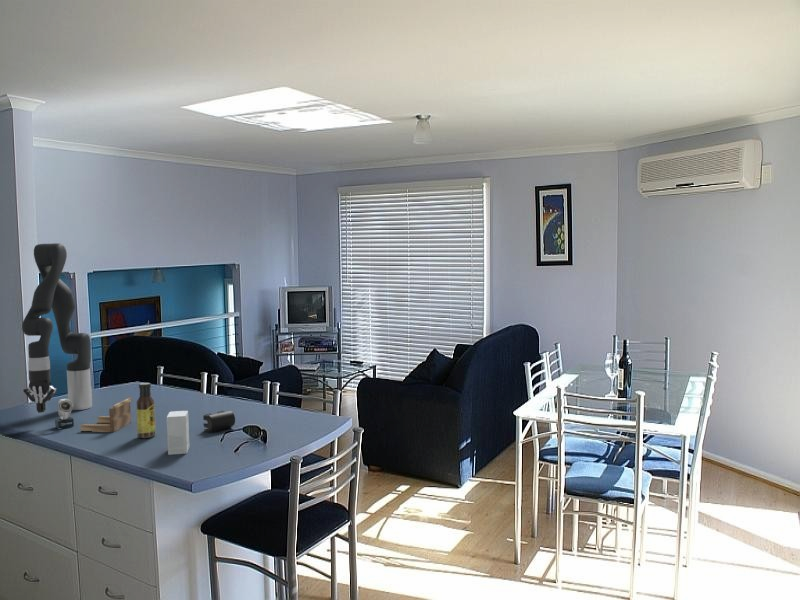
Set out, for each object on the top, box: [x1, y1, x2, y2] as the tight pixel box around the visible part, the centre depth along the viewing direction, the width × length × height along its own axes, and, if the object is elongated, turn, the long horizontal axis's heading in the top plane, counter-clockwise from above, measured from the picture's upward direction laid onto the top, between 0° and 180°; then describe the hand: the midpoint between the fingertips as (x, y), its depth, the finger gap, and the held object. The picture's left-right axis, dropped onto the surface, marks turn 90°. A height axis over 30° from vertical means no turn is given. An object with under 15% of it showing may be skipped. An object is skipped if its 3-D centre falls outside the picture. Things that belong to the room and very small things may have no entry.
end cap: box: [202, 410, 236, 433], centre depth 256 cm, size 10×7×7 cm
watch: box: [54, 398, 75, 429], centre depth 263 cm, size 6×8×11 cm
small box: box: [166, 410, 190, 456], centre depth 230 cm, size 8×6×13 cm
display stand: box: [80, 397, 133, 433], centre depth 262 cm, size 14×14×10 cm
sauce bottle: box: [136, 382, 156, 439], centre depth 247 cm, size 6×6×20 cm
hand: (41, 412), depth 263 cm, fingers closed
